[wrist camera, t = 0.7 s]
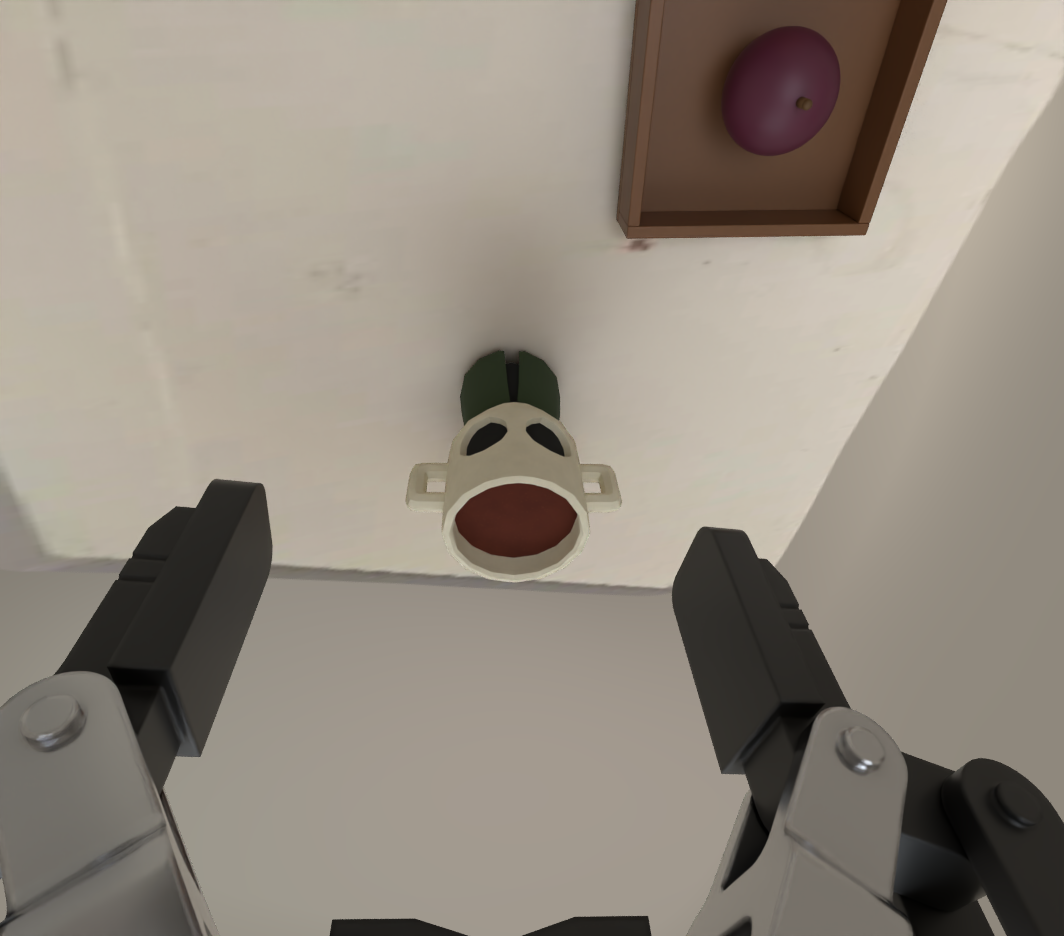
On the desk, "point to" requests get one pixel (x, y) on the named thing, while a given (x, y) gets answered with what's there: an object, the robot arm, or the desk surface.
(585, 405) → the desk surface
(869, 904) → the robot arm
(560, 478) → the character mug
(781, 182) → the tray
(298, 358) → the desk surface
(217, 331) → the desk surface
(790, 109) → the plum
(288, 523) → the desk surface
